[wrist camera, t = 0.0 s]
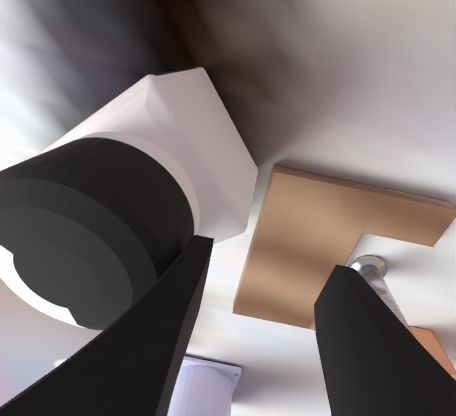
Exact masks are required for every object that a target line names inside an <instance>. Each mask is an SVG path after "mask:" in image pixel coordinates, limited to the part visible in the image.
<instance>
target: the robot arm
mask: <svg viewBox="0 0 456 416" xmlns="http://www.w3.org/2000/svg"><path fill="white" fill-rule="evenodd" d="M213 242H214V238H209V237H205V236H200V235H194V236H192V237H191V239H190V241H189V242H188V244H187V245H186V247H185V248H184V249H183V251H182V252H181V253H180V255H179V256H178V257H177V258H176V260H175V261H174V262H173V263H172V264H171V266H170V267H169V268H168V269H167V270H166V271H165V272H164V273H163V275H162V276H161V277H160V278H159V279H158V280H157V281H156V282H155V283H154V284H153V285H152V286H151V287H150V288H149V289H148V290H147V291H146V292H145V293H144V294H143V295H142V296H141V297H140V298H139V299H138V300H137V301H136V302H135V303H134V304H133V305H132V306H131V307H130V308H129V309H128V310H127V311H126V312H124V313H123V314H122V315H121V316H120V317H119V318H118V319H117V320H115V321H114V322H113V323H112V324H111V325H110V326H108V327H107V328H106V329H105V330H104V331H103V332H101V333H100V334H99V335H98V336H96V337H95V338H94V339H93V340H91V341H90V342H89V343H88V344H86V345H85V346H84V347H83V348H81V349H80V350H79V351H78V352H77V353H75V354H74V355H72V356H71V357H70V358H68V359H67V360H66V361H65V362H63V363H62V364H60V365H59V366H58V367H56V368H55V369H54V370H52V371H51V372H50V373H48V374H47V375H45V376H44V377H42V378H41V379H40V380H38V381H37V382H35V383H34V384H33V385H31V386H30V387H28V388H27V389H25V390H24V391H23V392H21V393H20V394H18V395H17V396H16V397H14V398H13V399H11V400H10V401H8V402H7V403H5V404H4V405H2V406H1V407H0V416H231V403H232V397H233V394H234V391H235V389H236V386H237V384H238V381H239V379H240V376H241V374H242V369H241V368H240V367H236V366H231V365H226V364H221V363H216V362H211V361H206V360H201V359H196V358H191V357H186V356H185V353H186V349H187V346H188V343H189V340H190V337H191V334H192V331H193V328H194V325H195V322H196V319H197V316H198V312H199V309H200V304H201V300H202V295H203V291H204V286H205V282H206V277H207V272H208V267H209V262H210V257H211V252H212V247H213ZM314 317H315V330H316V338H317V344H318V349H319V354H320V359H321V364H322V369H323V374H324V379H325V384H326V389H327V394H328V399H329V404H330V409H331V414H332V416H456V380H455V379H454V378H453V377H452V376H451V375H450V374H449V373H448V372H447V371H446V370H445V369H444V368H443V367H442V366H441V365H440V364H439V362H438V361H437V360H436V359H435V358H434V357H433V356H432V355H431V354H430V353H429V352H428V351H427V350H426V349H425V348H424V347H423V346H422V344H421V343H420V342H419V341H418V340H417V339H416V338H415V337H414V336H413V335H412V333H411V332H410V331H409V330H408V329H407V328H406V327H405V326H404V324H403V323H402V322H401V321H400V320H399V319H398V318H397V316H396V315H395V314H394V313H393V312H392V311H391V310H390V308H389V307H388V306H387V305H386V304H385V303H384V301H383V300H382V299H381V298H380V297H379V295H378V294H377V293H376V292H375V291H374V290H373V288H372V287H371V286H370V285H369V284H368V283H367V281H366V280H365V279H364V278H363V277H362V276H361V275H360V274H359V273H358V271H357V270H356V269H355V268H351V267H346V266H342V265H337V264H336V265H335V267H334V269H333V271H332V273H331V274H330V276H329V278H328V280H327V282H326V284H325V285H324V287H323V289H322V291H321V293H320V294H319V296H318V298H317V300H316V302H315V304H314Z"/></svg>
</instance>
